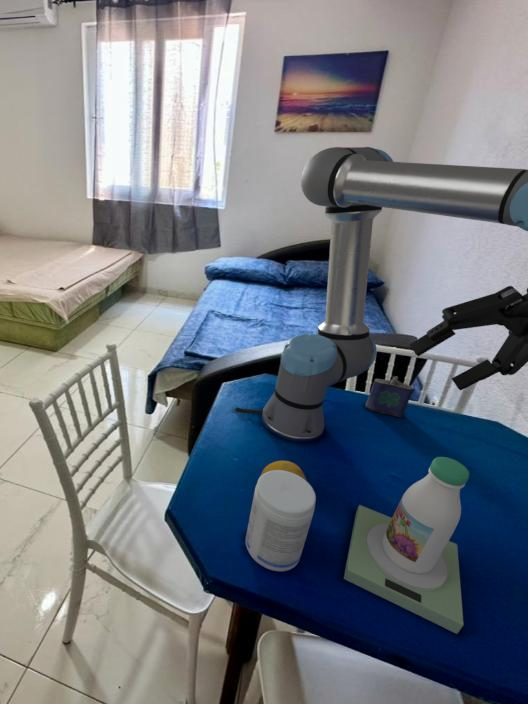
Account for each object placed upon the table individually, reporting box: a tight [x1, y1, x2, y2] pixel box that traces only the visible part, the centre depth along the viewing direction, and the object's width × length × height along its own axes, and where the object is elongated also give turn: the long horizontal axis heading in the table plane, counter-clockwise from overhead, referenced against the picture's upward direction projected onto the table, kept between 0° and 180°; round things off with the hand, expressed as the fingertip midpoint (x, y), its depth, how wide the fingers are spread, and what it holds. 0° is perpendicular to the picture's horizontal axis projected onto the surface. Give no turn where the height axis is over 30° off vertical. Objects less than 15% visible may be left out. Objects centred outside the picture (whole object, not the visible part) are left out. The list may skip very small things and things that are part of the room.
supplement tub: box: [245, 470, 317, 572], centre depth 69 cm, size 10×10×15 cm
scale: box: [343, 504, 465, 635], centre depth 70 cm, size 16×16×3 cm
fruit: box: [260, 460, 307, 481], centre depth 82 cm, size 9×8×8 cm
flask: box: [365, 375, 414, 418], centre depth 109 cm, size 9×3×11 cm, turn 65°
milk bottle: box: [382, 456, 470, 574], centre depth 64 cm, size 8×8×20 cm
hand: (435, 368), depth 74 cm, fingers open, 13 cm apart
